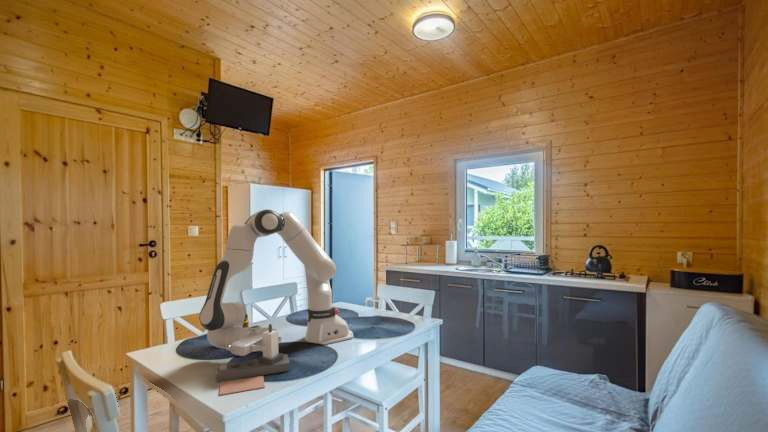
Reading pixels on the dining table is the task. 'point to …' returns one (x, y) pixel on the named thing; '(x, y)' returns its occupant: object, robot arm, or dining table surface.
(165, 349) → the dining table surface
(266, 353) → the block
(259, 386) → the mat
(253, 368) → the power strip
